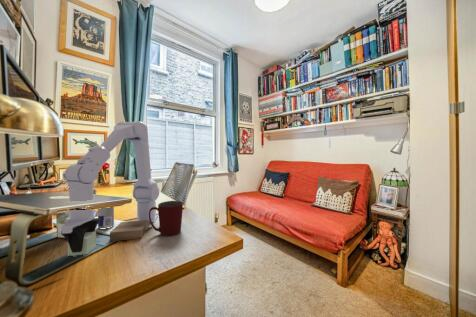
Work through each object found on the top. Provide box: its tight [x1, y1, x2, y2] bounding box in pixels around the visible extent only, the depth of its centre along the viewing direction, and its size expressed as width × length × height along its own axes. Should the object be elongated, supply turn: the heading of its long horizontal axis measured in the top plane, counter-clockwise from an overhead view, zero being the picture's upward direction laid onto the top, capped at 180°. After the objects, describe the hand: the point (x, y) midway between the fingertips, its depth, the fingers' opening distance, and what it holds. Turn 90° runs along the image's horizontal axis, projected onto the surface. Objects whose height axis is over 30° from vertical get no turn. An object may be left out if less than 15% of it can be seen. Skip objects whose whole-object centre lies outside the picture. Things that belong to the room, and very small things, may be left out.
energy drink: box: [97, 206, 115, 229], centre depth 77 cm, size 5×5×12 cm
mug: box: [149, 200, 184, 237], centre depth 71 cm, size 12×9×11 cm
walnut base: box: [109, 220, 150, 242], centre depth 71 cm, size 10×10×3 cm
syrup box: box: [55, 212, 70, 239], centre depth 69 cm, size 6×6×14 cm
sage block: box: [66, 231, 97, 257], centre depth 58 cm, size 5×5×5 cm
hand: (82, 247), depth 58 cm, fingers closed on sage block, 5 cm apart
